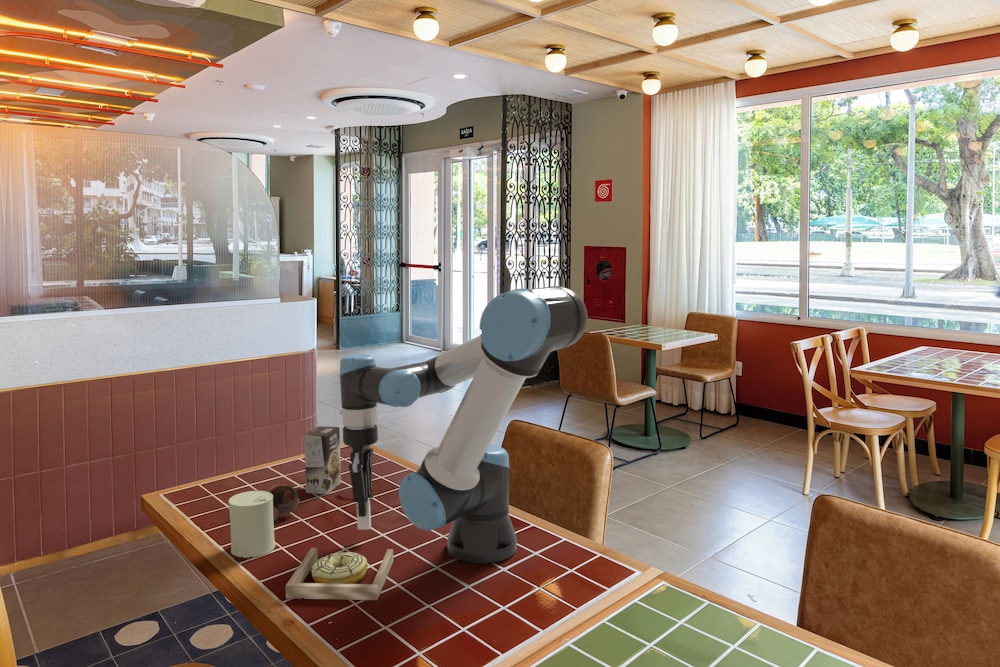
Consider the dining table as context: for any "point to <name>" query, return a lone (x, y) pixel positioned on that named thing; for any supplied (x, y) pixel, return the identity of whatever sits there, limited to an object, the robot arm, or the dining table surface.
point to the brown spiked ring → (282, 500)
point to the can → (251, 524)
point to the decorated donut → (340, 568)
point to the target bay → (336, 590)
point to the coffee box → (322, 460)
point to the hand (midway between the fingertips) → (364, 528)
